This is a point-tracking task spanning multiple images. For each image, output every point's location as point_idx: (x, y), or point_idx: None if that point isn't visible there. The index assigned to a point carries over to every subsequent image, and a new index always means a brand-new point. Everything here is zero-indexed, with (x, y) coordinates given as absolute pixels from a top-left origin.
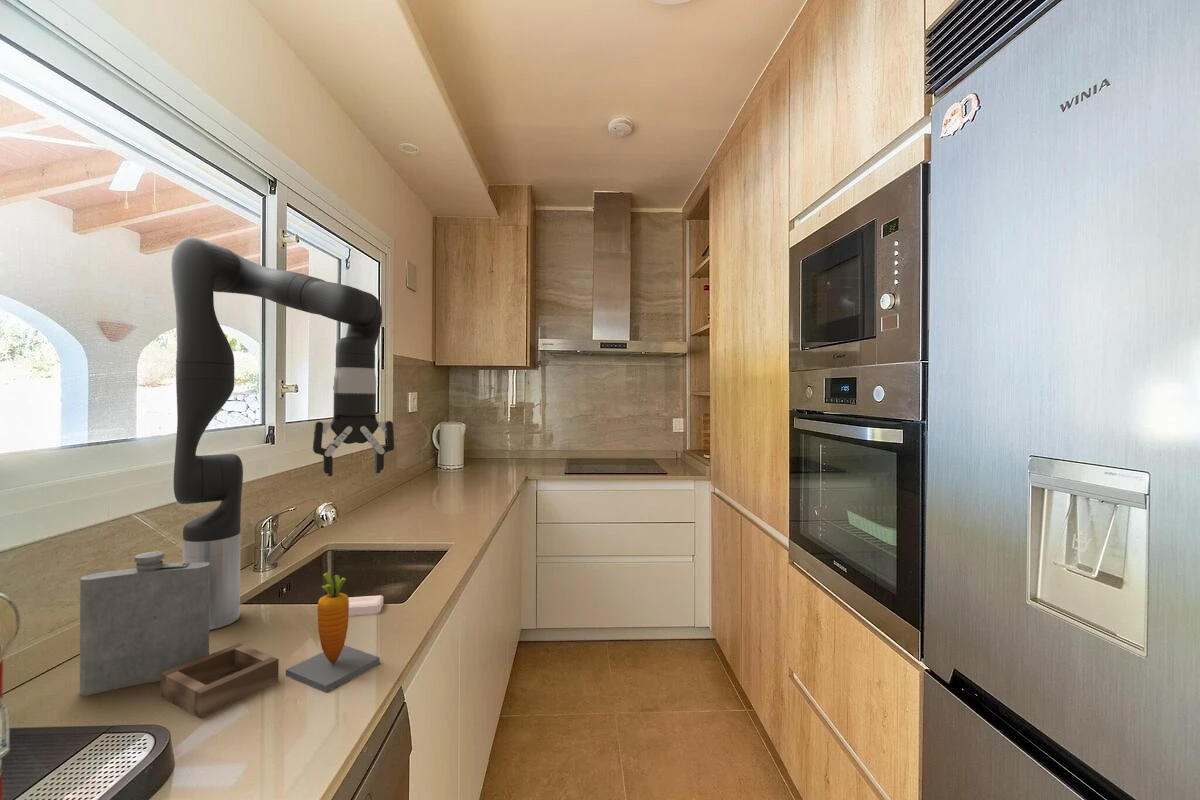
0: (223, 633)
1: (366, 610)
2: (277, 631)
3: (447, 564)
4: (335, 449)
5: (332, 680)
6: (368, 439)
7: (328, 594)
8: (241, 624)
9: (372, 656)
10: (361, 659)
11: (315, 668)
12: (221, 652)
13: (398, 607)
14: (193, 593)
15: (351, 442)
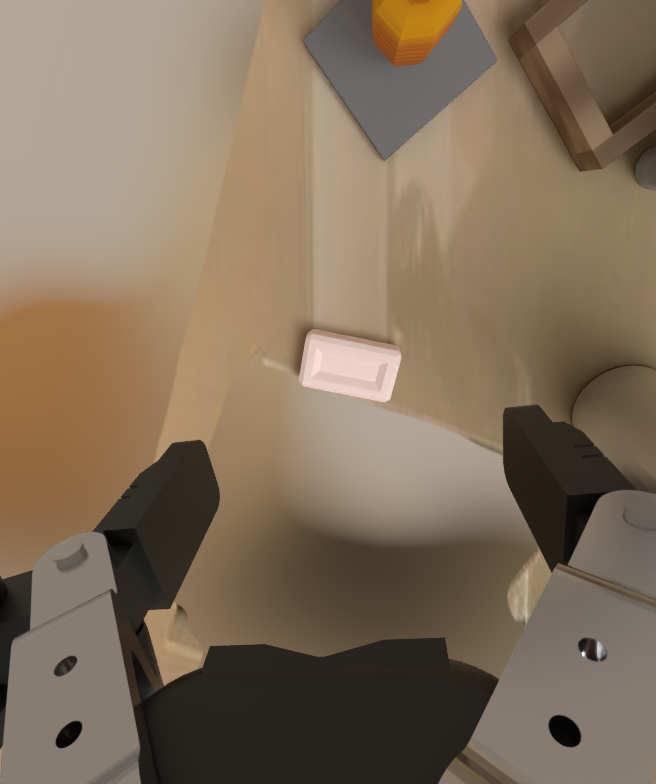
0: (602, 343)
1: (333, 335)
2: (504, 312)
3: None
4: (575, 558)
5: None
6: (114, 669)
7: (434, 2)
8: (568, 375)
9: (318, 55)
10: (342, 46)
11: None
12: (640, 122)
13: (270, 345)
14: None
15: (377, 656)
